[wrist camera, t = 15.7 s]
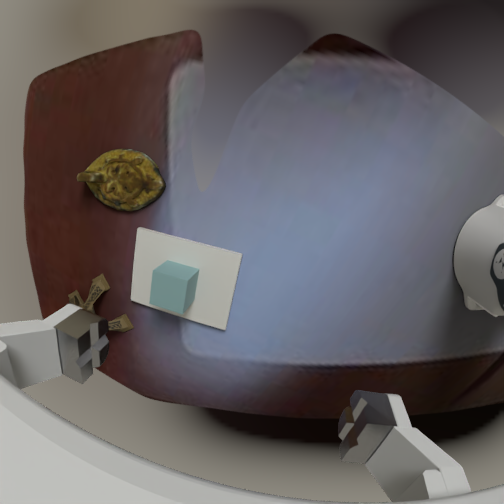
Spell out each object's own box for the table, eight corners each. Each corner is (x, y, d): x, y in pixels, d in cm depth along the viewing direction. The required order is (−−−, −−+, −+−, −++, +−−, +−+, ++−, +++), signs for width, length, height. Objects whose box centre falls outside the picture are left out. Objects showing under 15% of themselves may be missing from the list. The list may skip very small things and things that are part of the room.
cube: (199, 269, 43) (187, 280, 38) (194, 300, 44) (182, 314, 40) (167, 260, 43) (152, 270, 39) (163, 290, 45) (149, 303, 40)
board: (242, 253, 42) (241, 255, 42) (226, 327, 46) (225, 330, 45) (140, 227, 44) (137, 227, 43) (133, 298, 47) (130, 300, 46)
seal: (173, 152, 42) (92, 149, 43) (161, 146, 37) (75, 145, 38) (165, 215, 43) (85, 205, 45) (151, 216, 38) (67, 206, 40)
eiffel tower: (102, 273, 47) (-8, 340, 23) (134, 327, 49) (44, 418, 25) (69, 294, 49) (-28, 356, 26) (97, 342, 51) (15, 420, 27)
